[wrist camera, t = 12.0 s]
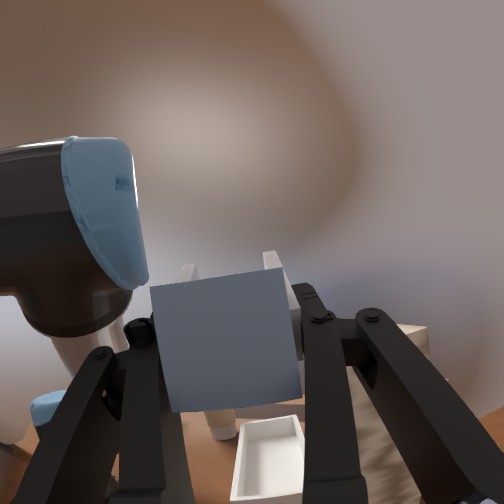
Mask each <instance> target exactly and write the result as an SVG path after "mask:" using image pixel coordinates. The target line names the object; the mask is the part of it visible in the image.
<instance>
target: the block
mask: <svg viewBox="0 0 504 504" xmlns="http://www.w3.org/2000/svg"><path fill="white" fill-rule="evenodd" d="M150 294H151V302H152V309H153V316H154V323H155V330H156V336H157V342H158V348H159V353H160V358H161V364H162V369H163V374H164V379H165V383H166V388H167V392H168V397H169V401H170V405H171V409H172V413H174V412H198V411H213V410H224V409H234V408H243V407H251V406H258V405H265V404H271V403H278V402H283V401H289V400H294V399H299V398H303V397H302V390H301V383H300V376H299V369H298V362H297V355H296V348H295V342H294V335H293V329H292V322H291V316H290V310H289V303H288V297H287V291H286V285H285V279H284V273H283V268H282V267H279V268H273V269H267V270H261V271H254V272H248V273H241V274H235V275H228V276H222V277H215V278H209V279H203V280H195V281H188V282H181V283H174V284H167V285H160V286H153V287H150Z"/></svg>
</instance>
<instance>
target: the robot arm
mask: <svg viewBox="0 0 504 504" xmlns="http://www.w3.org/2000/svg"><path fill="white" fill-rule="evenodd" d="M263 259H264V266H265V270H267V269H273V268H279V267H282V264H281V262H280V260H279V258H278V255H277V253H276V251H269V252H263ZM282 268H283V267H282ZM283 273H284V279H285V285H286V291H287V297H288V303H289V310H290V316H291V322H292V329H293V335H294V342H295V348H296V355H297V361H301V360H303V353H304V357H305V360H304V361H305V450H304V478H303V493H302V504H369V503H368V490H367V483H366V480H365V477H364V476H363V475H362V473H361V468H360V459H359V450H358V441H357V433H356V426H355V419H354V412H353V405H352V399H351V393H350V387H349V381H348V375H347V369H346V366H352V369H353V370H354V372H355V374H356V375H357V377H358V379H359V381H360V382H361V384H362V386H363V388H364V389H365V391H366V393H367V395H368V397H369V398H370V400H371V402H372V404H373V405H374V407H375V409H376V411H377V413H378V414H379V416H380V418H381V420H382V422H383V423H384V425H385V427H386V429H387V431H388V433H389V434H390V436H391V438H392V440H393V442H394V444H395V445H396V447H397V449H398V451H399V453H400V455H401V457H402V458H403V460H404V462H405V464H406V466H407V468H408V470H409V472H410V474H411V476H412V477H413V479H414V481H415V483H416V485H417V487H418V489H419V491H420V493H421V495H422V497H423V499H424V501H425V502H426V504H504V453H503V452H502V451H501V450H500V449H499V447H498V446H497V444H496V443H495V442H494V440H493V439H492V438H491V436H490V435H489V434H488V432H487V431H486V430H485V428H484V427H483V426H482V424H481V423H480V422H479V420H478V419H477V418H476V417H475V415H474V414H473V413H472V412H471V410H470V409H469V408H468V407H467V405H466V404H465V403H464V402H463V400H462V399H461V398H460V397H459V395H458V394H457V393H456V392H455V390H454V389H453V388H452V387H451V386H450V384H449V383H448V382H447V381H446V380H445V379H444V377H443V376H442V375H441V374H440V373H439V371H438V370H437V369H436V368H435V367H434V366H433V365H432V363H431V362H430V361H429V360H428V359H427V358H426V356H425V355H424V354H423V353H422V352H421V351H420V350H419V349H418V347H417V346H416V345H415V344H414V343H413V342H412V341H411V340H410V339H409V337H408V336H407V335H406V334H405V333H404V332H403V331H402V330H401V329H400V328H399V327H398V325H397V324H396V323H395V322H394V321H393V320H392V319H391V318H390V317H389V316H388V315H387V314H386V313H385V312H384V311H382V310H380V309H377V308H366V309H362V310H360V311H359V312H358V313H356V317H355V319H339V318H336V316H335V314H334V313H333V312H331V311H329V310H326V308H325V307H324V305H323V303H322V301H321V300H320V298H319V297H318V295H317V293H316V291H315V289H314V288H313V286H311V285H309V284H308V283H301V284H295V285H290V283H289V280H288V278H287V276H286V273H285V271H284V269H283ZM148 279H149V273H148V268H147V261H146V256H145V249H144V243H143V237H142V231H141V224H140V217H139V208H138V200H137V192H136V183H135V173H134V164H133V157H132V153H131V151H130V149H129V147H128V146H127V145H126V144H125V143H124V142H122V141H121V140H119V139H116V138H80V137H77V136H71V137H65V138H56V139H49V140H43V141H36V142H30V143H24V144H19V145H15V146H9V147H4V148H0V296H14V297H15V298H16V299H17V301H18V303H19V306H20V307H21V309H22V312H23V314H24V316H25V318H26V320H27V321H28V323H29V324H30V325H31V326H32V327H33V328H34V329H35V330H36V331H37V332H39V333H41V334H43V335H45V336H47V337H50V338H51V340H52V343H53V344H54V347H55V349H56V350H57V352H58V354H59V356H60V358H61V360H62V362H63V364H64V365H65V367H66V369H67V371H68V373H69V374H70V376H71V378H72V379H73V381H72V382H71V384H70V386H69V387H68V389H67V390H61V391H56V392H52V393H48V394H45V395H42V396H40V397H38V398H36V399H34V400H33V401H32V403H31V404H30V412H31V416H32V420H33V425H34V426H35V429H36V432H37V435H38V437H39V440H40V441H39V443H38V445H37V448H36V450H35V452H34V454H33V456H32V458H31V460H30V463H29V465H28V467H27V469H26V471H25V474H24V476H23V478H22V481H21V483H20V486H19V488H18V491H17V493H16V496H15V497H14V498H13V500H12V501H11V502H10V503H9V504H196V503H195V499H194V494H193V489H192V484H191V479H190V474H189V468H188V463H187V457H186V451H185V445H184V438H183V431H182V424H181V416H180V412H174V413H172V409H171V405H170V401H169V397H168V392H167V388H166V383H165V379H164V374H163V369H162V364H161V358H160V353H159V348H158V342H157V336H156V330H155V323H154V316H153V312H152V314H151V316H150V319H149V318H138V319H134V320H132V321H130V322H128V323H127V324H126V325H125V326H124V324H123V319H122V315H123V314H124V313H125V311H126V310H127V308H128V306H129V304H130V302H131V300H132V295H133V290H134V289H136V288H137V287H138V286H142V285H144V284H145V283H146V282H148ZM195 280H199V276H198V271H197V267H196V263H193V264H186V265H183V267H182V270H181V272H180V275H179V277H178V280H177V283H181V282H188V281H195ZM126 338H127V339H126ZM127 340H128V342H129V345H130V346H129V348H128V344H127ZM117 454H119V481H118V479H117V478H116V477H115V475H113V474H112V473H111V471H112V468H113V465H114V461H115V458H116V455H117Z"/></svg>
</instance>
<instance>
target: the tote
mask: <svg viewBox="0 0 504 504" xmlns="http://www.w3.org/2000/svg"><path fill="white" fill-rule="evenodd" d="M304 450H305V438H304V435H303V432H302V429H301V427H300V424H299V421H298V418H297V416H296V415H291V416H285V417H279V418H273V419H266V420H259V421H252V422H243V423H241V427H240V435H239V442H238V449H237V456H236V463H235V470H234V476H233V483H232V490H231V497H230V503H231V504H302V493H303V478H304Z"/></svg>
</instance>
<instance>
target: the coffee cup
mask: <svg viewBox="0 0 504 504" xmlns="http://www.w3.org/2000/svg"><path fill="white" fill-rule="evenodd" d="M204 414H205V417H206V420H207V423H208V426H209V428H210V431H211V434H212V437H213V438H214V439H216V440H227V439H231V438H233V437H235V436H236V434H237V432H236V424H235V422H236V420H235V412H234V409H224V410H213V411H204Z"/></svg>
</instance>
